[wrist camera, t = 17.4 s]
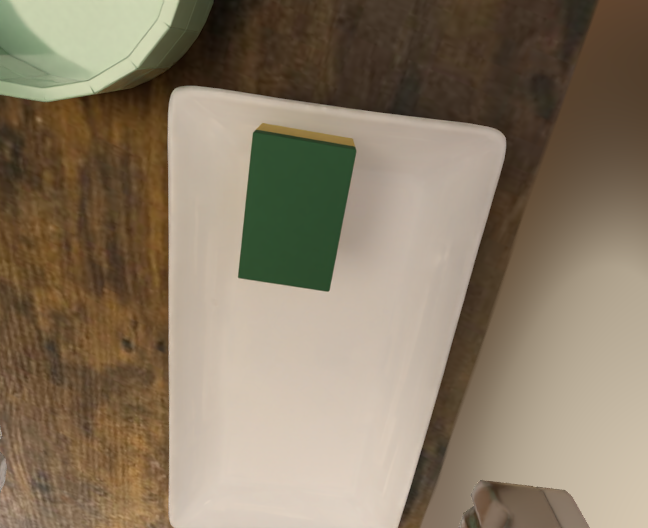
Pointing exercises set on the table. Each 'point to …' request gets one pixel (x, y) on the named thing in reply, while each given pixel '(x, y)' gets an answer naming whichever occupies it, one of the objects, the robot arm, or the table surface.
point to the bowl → (92, 44)
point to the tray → (314, 316)
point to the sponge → (295, 206)
